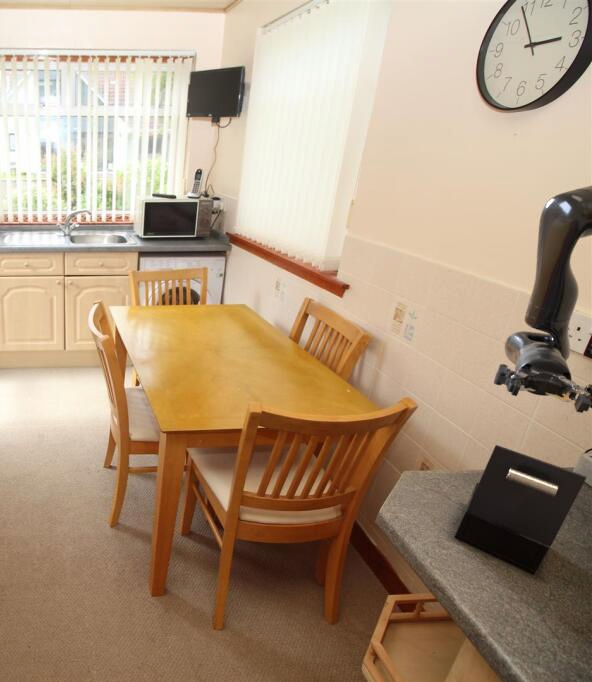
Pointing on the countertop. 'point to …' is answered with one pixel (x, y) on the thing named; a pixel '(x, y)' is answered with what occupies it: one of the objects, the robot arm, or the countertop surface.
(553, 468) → the warmer lid
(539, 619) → the countertop surface
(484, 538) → the box
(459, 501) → the countertop surface
